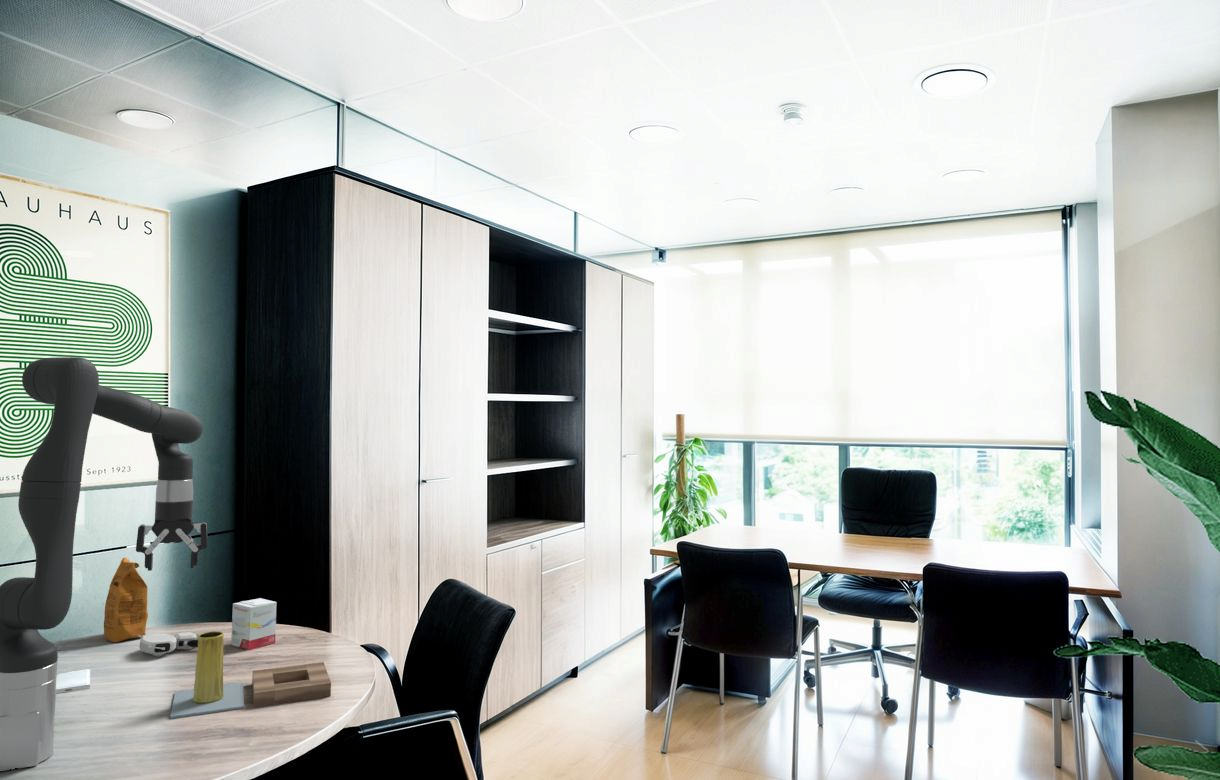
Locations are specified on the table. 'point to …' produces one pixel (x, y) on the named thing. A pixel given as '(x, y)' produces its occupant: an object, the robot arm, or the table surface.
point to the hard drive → (73, 681)
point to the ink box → (253, 623)
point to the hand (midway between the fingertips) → (171, 568)
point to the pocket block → (290, 684)
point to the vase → (209, 668)
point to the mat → (188, 707)
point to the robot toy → (167, 642)
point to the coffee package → (126, 604)
